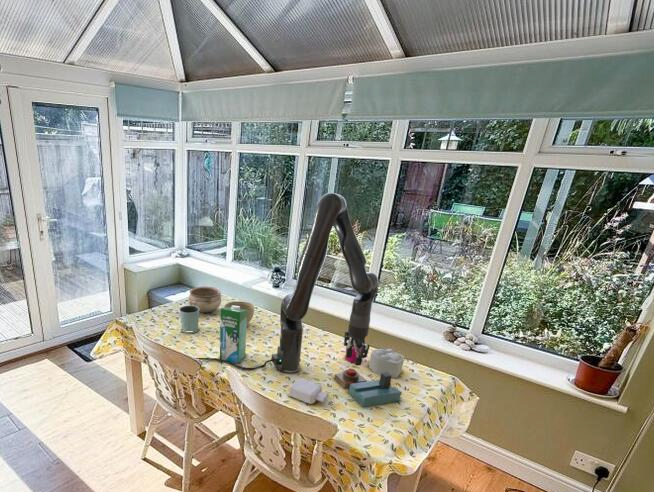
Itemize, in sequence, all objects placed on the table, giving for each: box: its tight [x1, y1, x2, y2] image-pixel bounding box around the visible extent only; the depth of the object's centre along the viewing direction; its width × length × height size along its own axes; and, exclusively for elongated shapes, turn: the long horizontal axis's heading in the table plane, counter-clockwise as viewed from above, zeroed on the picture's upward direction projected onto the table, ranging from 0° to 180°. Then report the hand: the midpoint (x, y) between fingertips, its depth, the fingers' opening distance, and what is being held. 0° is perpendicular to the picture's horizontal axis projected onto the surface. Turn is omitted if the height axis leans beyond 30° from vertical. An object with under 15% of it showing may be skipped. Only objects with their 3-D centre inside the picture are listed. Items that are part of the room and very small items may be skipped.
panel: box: [334, 369, 368, 389], centre depth 169 cm, size 10×8×4 cm
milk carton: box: [219, 305, 248, 365], centre depth 183 cm, size 9×9×25 cm
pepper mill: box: [345, 347, 361, 363], centre depth 184 cm, size 7×7×20 cm
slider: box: [379, 372, 392, 389], centre depth 159 cm, size 3×3×6 cm
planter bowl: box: [223, 300, 256, 327], centre depth 220 cm, size 16×16×11 cm
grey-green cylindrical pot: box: [178, 305, 200, 334], centre depth 213 cm, size 10×10×12 cm
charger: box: [288, 377, 333, 405], centre depth 157 cm, size 5×9×15 cm
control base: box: [348, 379, 402, 408], centre depth 159 cm, size 16×10×5 cm, turn 106°
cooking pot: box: [187, 286, 222, 314], centre depth 237 cm, size 25×19×12 cm
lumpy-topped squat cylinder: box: [368, 348, 405, 379], centre depth 178 cm, size 10×13×9 cm
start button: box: [347, 368, 357, 376], centre depth 168 cm, size 3×3×2 cm
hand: (353, 361), depth 166 cm, fingers open, 6 cm apart
